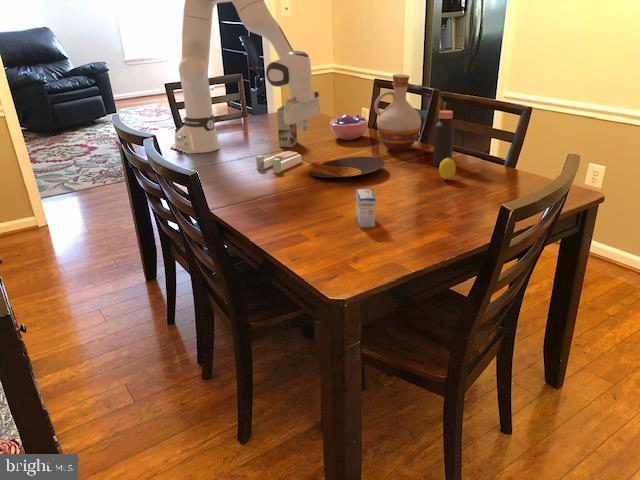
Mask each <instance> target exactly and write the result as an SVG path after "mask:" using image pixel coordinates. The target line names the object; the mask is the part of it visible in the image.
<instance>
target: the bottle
mask: <svg viewBox="0 0 640 480" xmlns="http://www.w3.org/2000/svg"><path fill="white" fill-rule="evenodd" d="M453 115H454V111H453V110H449V109H448V110H444V109H443V110H439V112H438V119H439V121H438V122H437V123H435V125H434V126H435V129H434V130H435V131H434V140H433V141H434V145H433V159H432V166H434V165H435V166H434V167H437V166H440V163H441V162H442V161H443V160H444V159H446V158H450V159H452V160H453V147H454V134H455V124H454V123H453V122H452V120H453Z"/></svg>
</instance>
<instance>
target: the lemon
mask: <svg viewBox="0 0 640 480" xmlns="http://www.w3.org/2000/svg"><path fill="white" fill-rule="evenodd" d="M438 168H439V169H438V172H439V175H440V176H441V178H442V179H444V180H445V179H448V180H449V179H451V178H452V177H454V176H455V174H456V170H457V166H456V163H455V161H454V160H453V158H452V159H450V158H446V159H444V160H443V161H442V162H441V163H440V166H439V167H438Z"/></svg>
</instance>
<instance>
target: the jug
mask: <svg viewBox="0 0 640 480" xmlns="http://www.w3.org/2000/svg"><path fill="white" fill-rule="evenodd" d="M409 79H410V75H408V74H403V73H395V74H392V81H393V82H392V83H391V84H392V87H393V90H394V91H392V90H386V91H384V92H382V93H381V94H379V95H378V96H377V98H376V100H375V101H374V107H373V108H374V113H375V114H376V115H378V118H377V121H376V123H377V124H376V126H377V131H378V135H379V137H380V140H381V141H382V143H383V145H384V146H385V147H386V149H388V151H390V152H393V151H395V152H396V153H401V152H400V151H404V152H407V151H408V150H410V148H411V147H412V146H413V144H414V143H415V142H416V141H417V139H418V137H419V134H420V131H421V127H422V118H421V116H420V114H419V112H418V111H417V110H416V109H415V108H414V107H413V106H412V105H411V104H410V103H409V102H408V101H407V90H408V87H409V85H410V82H409ZM389 95H390V96H392V101H391V103H390V104H389V105H388V106H386V107H385V109H383V110H382V111H380V110H379V103H380V101H381V100H382V99H383V98H384V97H385V96H389ZM406 150H407V151H406ZM395 152H394V153H395Z"/></svg>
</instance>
